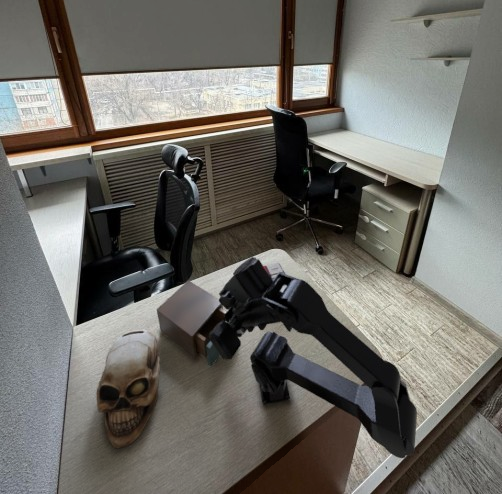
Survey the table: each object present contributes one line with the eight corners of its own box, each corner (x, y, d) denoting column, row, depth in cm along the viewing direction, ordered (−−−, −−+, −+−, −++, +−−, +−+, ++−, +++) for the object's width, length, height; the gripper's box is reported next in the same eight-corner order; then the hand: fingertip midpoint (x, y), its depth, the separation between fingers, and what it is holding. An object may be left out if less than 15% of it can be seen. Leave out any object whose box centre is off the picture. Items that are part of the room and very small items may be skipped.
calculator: (279, 260, 98) (296, 292, 84) (278, 270, 99) (296, 302, 86) (250, 267, 95) (263, 301, 82) (250, 276, 97) (263, 311, 83)
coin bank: (116, 458, 53) (102, 413, 49) (89, 393, 65) (76, 352, 61) (184, 392, 64) (176, 351, 60) (150, 346, 76) (142, 309, 72)
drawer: (240, 334, 76) (239, 316, 73) (214, 370, 67) (213, 351, 64) (204, 310, 83) (202, 293, 80) (177, 340, 74) (174, 321, 71)
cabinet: (223, 323, 80) (222, 301, 76) (194, 359, 70) (192, 336, 67) (190, 301, 87) (188, 280, 83) (160, 331, 77) (156, 309, 74)
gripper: (264, 251, 65) (229, 267, 75) (213, 309, 50) (178, 320, 60) (291, 290, 64) (252, 301, 74) (248, 361, 50) (207, 362, 59)
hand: (225, 318), depth 67 cm, fingers closed
